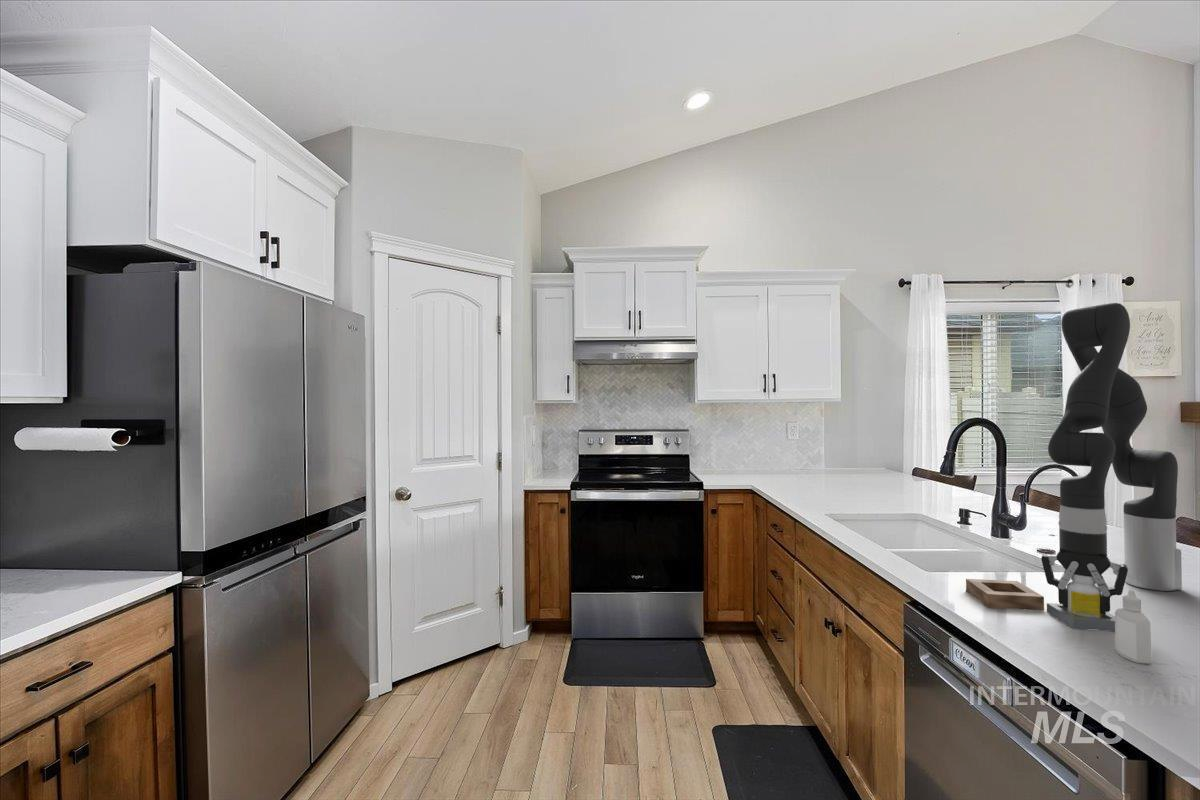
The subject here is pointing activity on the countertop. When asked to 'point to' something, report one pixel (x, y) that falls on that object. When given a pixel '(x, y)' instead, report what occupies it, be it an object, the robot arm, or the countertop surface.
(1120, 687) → the countertop surface
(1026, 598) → the socket block
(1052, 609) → the holder
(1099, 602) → the supplement bottle
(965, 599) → the countertop surface
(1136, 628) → the eye dropper bottle
